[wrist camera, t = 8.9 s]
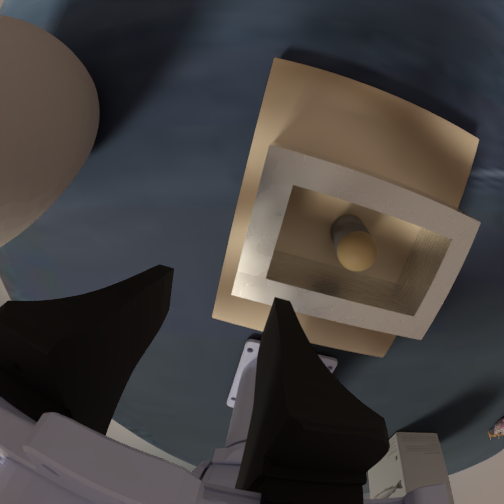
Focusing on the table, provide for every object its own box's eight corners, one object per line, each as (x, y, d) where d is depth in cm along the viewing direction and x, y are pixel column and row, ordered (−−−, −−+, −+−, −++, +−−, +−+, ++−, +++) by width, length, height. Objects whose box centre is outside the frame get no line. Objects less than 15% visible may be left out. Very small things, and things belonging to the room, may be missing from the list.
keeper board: (379, 345, 23) (393, 394, 18) (216, 306, 23) (197, 354, 18) (468, 137, 16) (516, 146, 11) (275, 62, 16) (269, 37, 11)
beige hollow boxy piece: (403, 305, 20) (421, 340, 16) (242, 262, 20) (231, 294, 16) (449, 203, 16) (480, 222, 13) (274, 141, 17) (269, 144, 13)
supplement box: (395, 430, 28) (411, 520, 16) (437, 431, 28) (457, 510, 16) (364, 458, 31) (370, 538, 20) (405, 459, 31) (417, 531, 20)
